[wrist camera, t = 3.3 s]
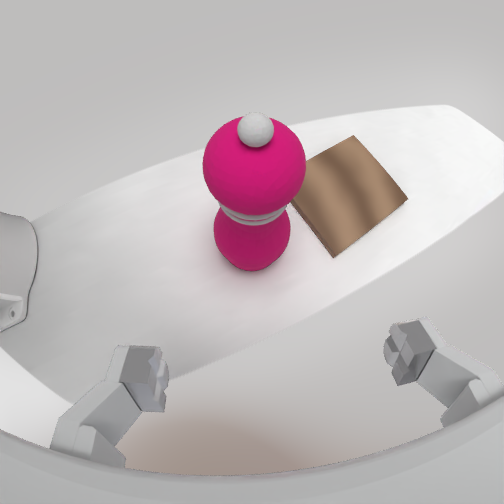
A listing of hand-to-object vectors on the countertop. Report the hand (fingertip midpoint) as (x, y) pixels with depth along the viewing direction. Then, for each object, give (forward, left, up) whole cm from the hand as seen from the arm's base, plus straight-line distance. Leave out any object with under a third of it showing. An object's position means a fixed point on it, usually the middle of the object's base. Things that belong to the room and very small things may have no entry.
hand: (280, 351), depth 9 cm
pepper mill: (+5, +9, -21) cm, 23 cm away
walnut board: (+18, +8, -20) cm, 28 cm away
